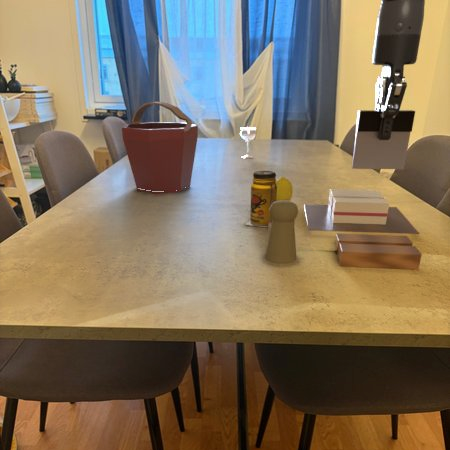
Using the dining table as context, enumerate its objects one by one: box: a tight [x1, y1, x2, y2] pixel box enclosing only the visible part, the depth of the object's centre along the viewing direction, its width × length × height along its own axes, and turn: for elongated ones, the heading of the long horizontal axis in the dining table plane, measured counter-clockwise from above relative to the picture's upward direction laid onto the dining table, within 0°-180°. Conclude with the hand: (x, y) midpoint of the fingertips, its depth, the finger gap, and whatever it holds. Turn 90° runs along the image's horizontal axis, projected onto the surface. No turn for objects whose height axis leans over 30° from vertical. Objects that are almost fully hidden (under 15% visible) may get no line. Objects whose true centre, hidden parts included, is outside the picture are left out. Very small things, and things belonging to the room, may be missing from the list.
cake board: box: [303, 204, 420, 235], centre depth 105 cm, size 24×22×1 cm
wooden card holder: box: [334, 233, 422, 271], centre depth 83 cm, size 14×10×3 cm
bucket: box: [121, 101, 199, 195], centre depth 132 cm, size 24×22×25 cm
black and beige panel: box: [351, 109, 416, 170], centre depth 83 cm, size 10×2×11 cm, turn 84°
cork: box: [264, 200, 299, 265], centre depth 82 cm, size 6×6×11 cm
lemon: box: [276, 176, 294, 201], centre depth 116 cm, size 6×6×8 cm
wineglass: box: [239, 126, 257, 159], centre depth 188 cm, size 7×7×12 cm
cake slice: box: [331, 198, 390, 225], centre depth 101 cm, size 12×4×5 cm, turn 83°
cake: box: [327, 188, 385, 216], centre depth 107 cm, size 12×7×5 cm, turn 83°
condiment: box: [244, 170, 277, 228], centre depth 102 cm, size 7×8×12 cm
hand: (382, 138), depth 83 cm, fingers closed on black and beige panel, 2 cm apart
